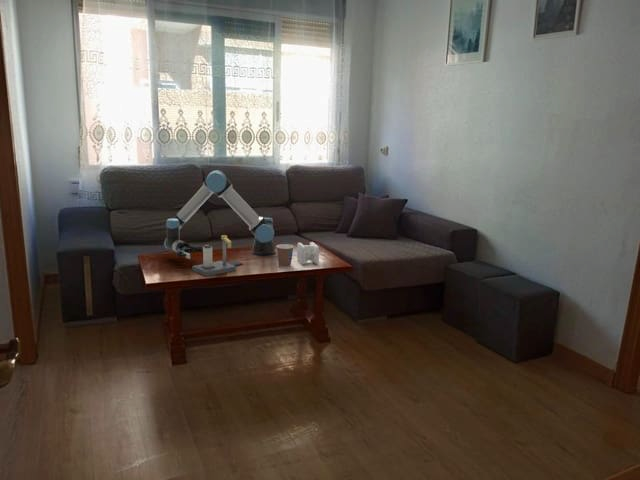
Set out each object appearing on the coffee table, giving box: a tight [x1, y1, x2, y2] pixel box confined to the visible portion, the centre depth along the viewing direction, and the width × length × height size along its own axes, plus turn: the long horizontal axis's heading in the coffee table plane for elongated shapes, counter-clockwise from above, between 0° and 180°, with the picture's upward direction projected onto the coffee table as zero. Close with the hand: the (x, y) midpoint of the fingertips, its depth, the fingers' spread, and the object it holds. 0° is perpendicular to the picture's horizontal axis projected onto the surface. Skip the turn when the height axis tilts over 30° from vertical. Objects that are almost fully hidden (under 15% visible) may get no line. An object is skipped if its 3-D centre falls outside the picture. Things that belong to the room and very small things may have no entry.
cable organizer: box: [296, 241, 320, 266], centre depth 311 cm, size 15×11×12 cm
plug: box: [202, 244, 213, 269], centre depth 285 cm, size 6×6×15 cm
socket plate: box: [191, 240, 237, 277], centre depth 287 cm, size 19×15×17 cm
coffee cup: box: [275, 243, 295, 268], centre depth 302 cm, size 10×10×12 cm
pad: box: [226, 260, 244, 267], centre depth 303 cm, size 8×8×1 cm
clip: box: [220, 234, 232, 249], centre depth 285 cm, size 16×3×4 cm, turn 22°
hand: (200, 254), depth 289 cm, fingers open, 13 cm apart
